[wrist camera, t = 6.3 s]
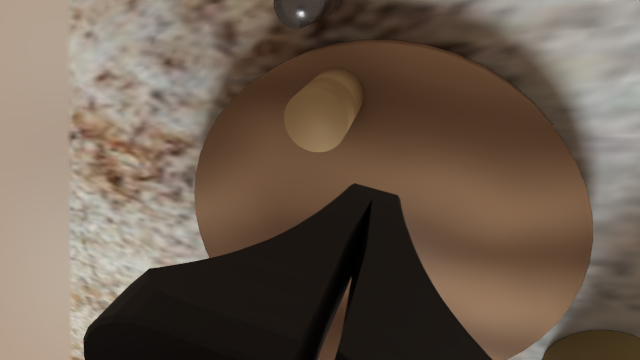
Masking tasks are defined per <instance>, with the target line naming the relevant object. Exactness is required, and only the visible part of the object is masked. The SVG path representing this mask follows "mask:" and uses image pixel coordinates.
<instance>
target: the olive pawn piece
mask: <svg viewBox="0 0 640 360" xmlns="http://www.w3.org/2000/svg"><path fill="white" fill-rule="evenodd" d="M542 360H640V339H639V338H637V337H635V336H633V335H630V334H625V333H620V332H615V331H586V332H581V333H576V334H571V335H569V336H567V337H565V338H563V339H561V340H559V341H556V342H555V343H554V344H553V345H552V346H551V347H550V348H549V349H548V350H547V351H546V352H545V354H544V357H543V359H542Z"/></svg>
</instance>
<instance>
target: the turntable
mask: <svg viewBox="0 0 640 360" xmlns="http://www.w3.org/2000/svg"><path fill="white" fill-rule="evenodd" d="M354 183H356V184H359V185H363V186H367V187H370V188H374V189H378V190H381V191H385V192H389V193H392V194H396V195H398V196H399V198H400V200H401V207H402V211H403V215H404V219H405V223H406V226H407V229H408V231H409V234H410V237H411V240H412V242H413V245H414V247H415V250H416V252H417V254H418V256H419V258H420V261H421V263H422V265H423V267H424V269H425V271H426V273H427V274H428V276H429V278H430V280H431V282H432V283H433V285H434V287H435V288H436V290H437V292H438V293H439V295H440V296H441V298H442V299H443V301H444V302H445V303H446V305H447V306H448V307H449V309H450V310H451V311H452V313H453V314H454V315H455V317H456V318H457V319H458V321H459V322H460V323H461V325H462V326H463V327H464V328H465V329H466V331H467V332H468V333H469V334H470V335H471V336H472V338H473V339H474V340H475V341H476V342H477V343H478V344H479V345H480V346H481V348H482V349H483V350H484V351H485V352H486V353H487V354H488V355H489V356H490V357H491V358H492V360H507V359H509V358H511V357H513V356H515V355H517V354H518V353H520V352H522V351H524V350H525V349H527V348H528V347H529V346H531V345H532V344H534V343H535V342H537V341H538V340H539V339H541V338H542V337H543V336H544V335H545V334H546V333H547V332H548V331H549V330H550V329H551V328H552V327H554V326H555V325H556V324H557V323H558V321H559V320H560V319H561V317H562V316H563V315H564V314H565V312H566V311H567V310H568V309H569V307H570V306H571V304H572V303H573V301H574V299H575V297H576V295H577V293H578V292H579V290H580V288H581V286H582V284H583V281H584V278H585V275H586V272H587V269H588V266H589V263H590V256H591V250H592V243H593V222H592V210H591V206H590V201H589V197H588V192H587V188H586V185H585V183H584V180H583V178H582V175H581V173H580V170H579V168H578V166H577V163H576V161H575V159H574V158H573V156H572V154H571V153H570V151H569V150H568V148H567V147H566V145H565V143H564V142H563V140H562V139H561V137H560V135H559V134H558V132H557V131H556V129H555V128H554V126H553V125H552V123H551V122H550V121H549V120H548V118H547V117H546V116H545V115H544V114H543V113H542V112H541V110H540V109H539V108H538V107H537V106H536V105H535V104H534V102H533V101H532V100H530V99H529V98H528V97H527V96H526V95H525V94H523V93H522V92H521V91H520V90H519V89H517V88H516V87H515V86H514V85H513V84H512V83H510V82H509V81H507V80H506V79H504V78H503V77H501V76H499V75H498V74H496V73H495V72H493V71H491V70H490V69H488V68H487V67H485V66H483V65H481V64H479V63H477V62H474V61H472V60H470V59H468V58H465V57H463V56H461V55H459V54H456V53H454V52H450V51H447V50H443V49H440V48H436V47H433V46H429V45H426V44H420V43H413V42H406V41H399V40H357V41H349V42H342V43H335V44H331V45H328V46H324V47H321V48H317V49H313V50H310V51H307V52H305V53H303V54H301V55H298V56H296V57H294V58H291V59H289V60H287V61H285V62H283V63H282V64H280V65H278V66H277V67H275V68H273V69H272V70H270V71H269V72H267V73H265V74H264V75H262V76H261V77H259V78H258V79H256V80H254V81H253V82H251V83H250V84H249V85H248V86H247V87H246V88H245V89H243V90H242V91H241V92H240V93H239V94H238V95H237V96H236V97H234V98H233V100H232V101H231V102H230V103H229V104H228V106H227V107H226V108H225V109H224V110H223V112H222V113H221V114H220V115H219V117H218V118H217V120H216V122H215V123H214V125H213V127H212V129H211V130H210V132H209V134H208V136H207V138H206V141H205V143H204V146H203V148H202V151H201V153H200V157H199V162H198V166H197V171H196V179H195V193H194V194H195V208H196V216H197V221H198V226H199V231H200V234H201V237H202V240H203V243H204V246H205V249H206V251H207V253H208V255H209V257H210V258H212V257H216V256H220V255H224V254H227V253H231V252H234V251H238V250H241V249H244V248H246V247H249V246H252V245H255V244H257V243H260V242H263V241H265V240H268V239H270V238H272V237H274V236H277V235H279V234H281V233H283V232H285V231H287V230H288V229H290V228H292V227H294V226H296V225H297V224H299V223H301V222H302V221H304V220H305V219H307V218H309V217H310V216H312V215H313V214H315V213H316V212H318V211H319V210H321V209H322V208H323V207H325V206H326V205H327V204H329V203H330V202H331V201H333V200H334V199H335V198H336V197H338V196H339V195H340V194H341V193H342V192H343V191H345V190H346V189H347V188H348V187H349V186H350V185H352V184H354ZM351 278H352V277H351ZM350 283H351V280H350V282H349V284H348V287H347V289H346V291H345V294H344V296H343V298H342V301H341V303H340V306H339V308H338V310H337V313H336V315H335V317H334V320H333V322H332V324H331V327H330V329H329V331H328V334H327V336H326V338H325V341H324V343H323V346H322V349H321V351H320V354H319V357H318V359H320V360H335V357H336V353H337V349H338V346H339V342H340V339H341V333H342V328H343V322H344V317H345V311H346V306H347V300H348V294H349V289H350Z"/></svg>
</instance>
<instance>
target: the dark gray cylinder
mask: <svg viewBox="0 0 640 360" xmlns="http://www.w3.org/2000/svg"><path fill="white" fill-rule="evenodd" d="M341 1H342V0H274V9H275V12H276V15H277V16H278V18H279V19H280V21H281V22H282V23H283V24H285V25H286V26H288V27H291V28H302V27H304V26H307V25H309V24H311V23H313V22H316V21H318V20H320V19H322V18H325V17H327V16H329V15H331V14H333V13H334V12H336V11H337V10H338V8H339V7H340V4H341Z"/></svg>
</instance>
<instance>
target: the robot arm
mask: <svg viewBox="0 0 640 360" xmlns="http://www.w3.org/2000/svg"><path fill="white" fill-rule="evenodd" d="M351 277H352V278H351ZM350 280H351V283H350V289H349V294H348V300H347V306H346V311H345V317H344V322H343V328H342V333H341V339H340V342H339V346H338V349H337V353H336V357H335V360H492V358H491V357H490V356H489V355H488V354H487V353H486V352H485V351H484V350H483V349H482V348H481V346H480V345H479V344H478V343H477V342H476V341H475V340H474V339H473V338H472V336H471V335H470V334H469V333H468V332H467V331H466V329H465V328H464V327H463V326H462V325H461V323H460V322H459V321H458V319H457V318H456V317H455V315H454V314H453V313H452V311H451V310H450V309H449V307H448V306H447V305H446V303H445V302H444V301H443V299H442V298H441V296H440V295H439V293H438V292H437V290H436V288H435V287H434V285H433V283H432V282H431V280H430V278H429V276H428V274H427V273H426V271H425V269H424V267H423V265H422V263H421V261H420V258H419V256H418V254H417V252H416V250H415V247H414V245H413V242H412V240H411V237H410V234H409V231H408V229H407V226H406V223H405V219H404V215H403V211H402V207H401V200H400V198H399V196H398V195H396V194H392V193H389V192H385V191H381V190H378V189H374V188H370V187H367V186H363V185H359V184H356V183H354V184H352V185H350V186H349V187H348V188H347V189H346V190H345V191H343V192H342V193H341V194H340V195H339V196H338V197H336V198H335V199H334V200H333V201H331V202H330V203H329V204H327V205H326V206H325V207H323V208H322V209H321V210H319V211H318V212H316V213H315V214H313V215H312V216H310V217H309V218H307V219H305V220H304V221H302V222H301V223H299V224H297V225H296V226H294V227H292V228H290V229H288V230H287V231H285V232H283V233H281V234H279V235H277V236H274V237H272V238H270V239H268V240H265V241H263V242H260V243H257V244H255V245H252V246H249V247H246V248H244V249H241V250H238V251H234V252H231V253H227V254H224V255H220V256H216V257H212V258H208V259H204V260H199V261H195V262H189V263H183V264H177V265H171V266H165V267H159V268H151V269H148V270H147V271H146V272H145V273H144V274H143V275H141V276H140V277H139V278H138V279H137V280H135V281H134V282H133V283H132V284H131V285H130V286H129V287H128V288H126V289H125V290H124V291H123V292H122V293H121V294H120V295H119V296H118V297H117V298H116V299H115V300H114V301H113V302H112V303H111V305H110V306H109V307H108V308H107V309H106V310H105V311H104V312H103V313H102V314H101V315H100V316H99V317H98V318H97V319H96V320H95V321H94V322H93V323H92V324H91V325H90V326H89V327H88V329H87V331H86V334H85V336H84V357H85V360H318V357H319V354H320V351H321V349H322V346H323V343H324V341H325V338H326V336H327V334H328V331H329V329H330V327H331V324H332V322H333V320H334V317H335V315H336V313H337V310H338V308H339V306H340V303H341V301H342V298H343V296H344V294H345V291H346V289H347V287H348V284H349V282H350Z"/></svg>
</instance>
